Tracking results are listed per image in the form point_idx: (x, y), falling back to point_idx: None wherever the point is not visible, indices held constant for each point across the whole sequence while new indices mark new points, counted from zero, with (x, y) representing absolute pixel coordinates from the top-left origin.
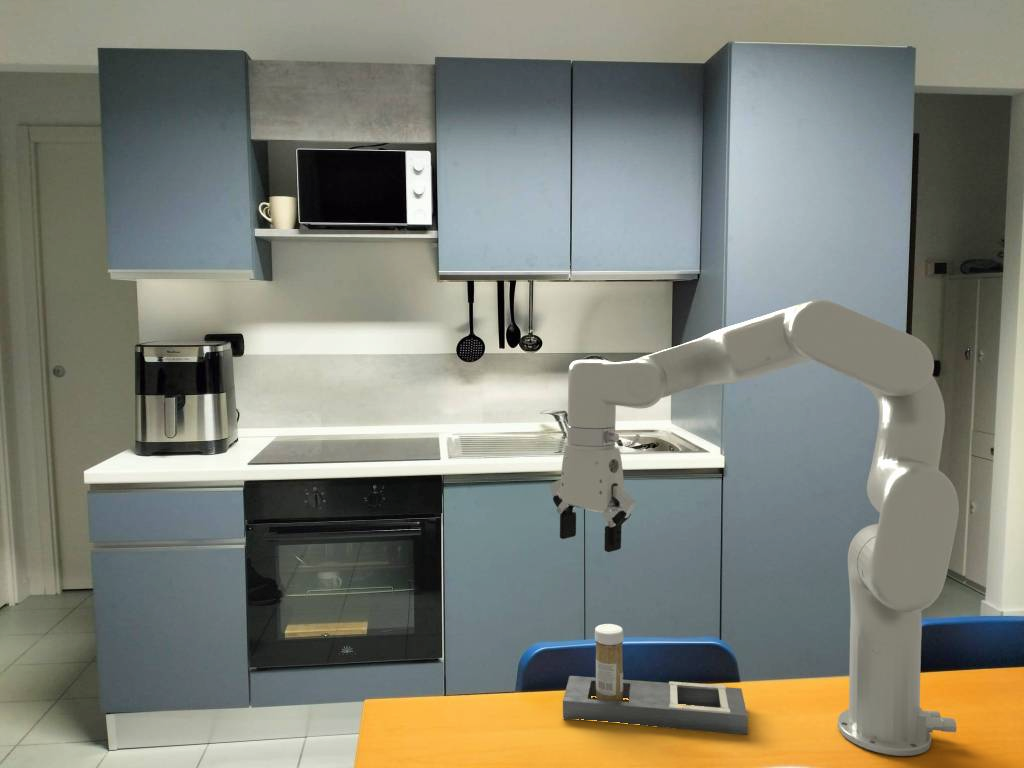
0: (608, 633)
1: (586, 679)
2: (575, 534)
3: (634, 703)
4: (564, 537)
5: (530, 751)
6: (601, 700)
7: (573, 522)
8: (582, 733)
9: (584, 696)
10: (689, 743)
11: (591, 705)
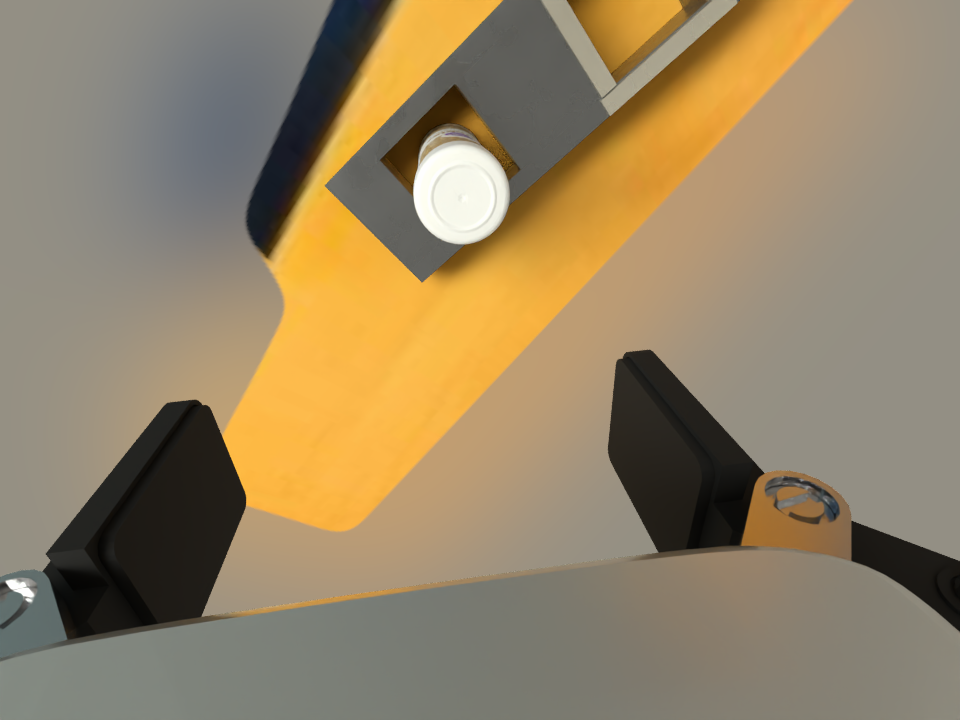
0: (491, 229)
1: (366, 164)
2: (205, 410)
3: (534, 164)
4: (243, 498)
5: (472, 373)
6: None
7: (166, 501)
8: (486, 273)
9: None
10: (656, 130)
11: None
